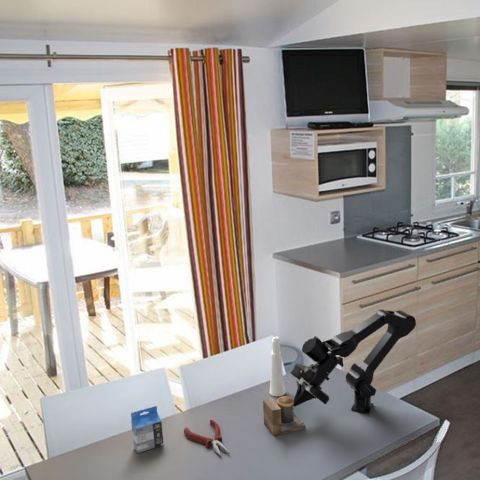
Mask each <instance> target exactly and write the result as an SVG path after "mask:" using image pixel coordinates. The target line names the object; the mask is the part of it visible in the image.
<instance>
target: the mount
mask: <svg viewBox="0 0 480 480" xmlns="http://www.w3.org/2000/svg"><path fill="white" fill-rule="evenodd" d="M262 401H263V402H262V407H263V408H262V409H263V425H264V426H265V427H266V429H267V431H269V433H270V434H271V435H272V436H273V437H275V436H279V435H283V434H287V433H292V432H295V431H301V430H303V429H306V425H305V424H304V423H305V422H304V421H302V420H301V419H300V418H299V416H297V415H296V414H295V411H294V410H293V414H294V420H295V421H296V422H297V423H295V424H291V425H287V426H281V408H280V407H279V406H278V404H277V403H276V401H275V400H274V399H273V398H272V397H269V398H265V399H264V398H263V399H262Z"/></svg>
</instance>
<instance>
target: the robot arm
mask: <svg viewBox="0 0 480 480" xmlns="http://www.w3.org/2000/svg"><path fill="white" fill-rule="evenodd" d="M386 325H387V329H386V331H385V333H384V334H383V335H382V337H380V339H379V340H378V341H377V343H376V344H375V346H374V347H372V349H371V350H370V352H369V353H368V355H367V356H366V357H365V359H363V361H362V362H360V363H359V364H357V363H355V362H354V363H353V364H352V365H351V366H350V368H349V369H347V370H346V375H345V382H346V384H347V385H348V386H349V387H350V389H352V390H353V391H354V393H353V400H354V401H353V404H352V406H351V411H354V412H360V413H364V414H370V413H371V411H372V409H373V407H374V406H375V405H374V403H372V397H373V396H375V395H376V392H377V389H376V388H375V387H374V386H373V385H371V384H372V382H373V380H374V374H375V372H376V370H377V369H378V368H379V366H380V364H381V363H382V362H383V361H384V360H385V358H386V357H387V355H388V354H389V352H391V350H392V349H393V348H394V346H395V345H396V344H397V342H398V341H399V340H400V339H402V338H404V337H407V336H408V335H409V334H410V333H412V332H413V330H414V329H415V328H416V326H417V321H416V319H415V316H413V315H411V314H410V313H407V312H405V311H403V310H395V311H394V310H385V309H378V310H377V311H376V313H374V314H373V315H371V316H370V317H368V318H367V319H366V320H364V321H362V322H361V323H359V324H358V325H357V326H355V327H354V328H352V329H351V330H349V331H344V332H341V333H340V332H339V334H336V335H334V336H333V337H331V338H329V339H327V340H323V341H322V340H321V339H320V338H319V337H317V336H316V335H315V336H314V337H312V338H309V339H308V340H306V341H305V342H304V343H303V345H302V348H301V350H302V351H301V352H302V353H303V354H304V355H306V356H307V357H308V358H309V359H311V360H312V361H313V362H314V363H315V364H313V363H311V364H310V365H309V366H307V365H304V364H300V363H297V362H296V363H294V367H293V369H292V370H291V371H290V374H291V375H292V376H293V377H295V378H297V380H296V384H297V389H296V392H295V395H294V398H293V399H294V404H293V407H297V406H299V405H301V404H304V403H306V402H308V401H311V400H314V399H315V400H316V399H318V400H319V401H320V402H322V404H324V405H325V406H326V405H327V403H328V402H329V401H330V396H329V395H328V394H327V393H326V392H324V391H323V388H322V387H321V386H322V385H323V383H325V381H329V380H330V379H331V378H329V376H330V375H331V374H332V372H333V371H334V369H335V368H336V367H337V366H338V365H339V366H340V367H341V368H343V367H344V358H348V357H349V356H350V355H352V353H354V351H356V350H357V347H358V346H359V344H360V343H361V342H362V341H364V340H365V339H367V338H368V337H370V336H371V335H372V334H374V333H375V332H376V331H378V330H379V329H381V328H382V327H384V326H386Z"/></svg>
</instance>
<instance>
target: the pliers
mask: <svg viewBox="0 0 480 480" xmlns="http://www.w3.org/2000/svg"><path fill="white" fill-rule="evenodd" d="M209 425H210V426H211V427H212V428H213V429H214V439H213V438H211V437H208V436H204V435H201V434H198V433H195V432H192V431H191V430H190V429H189V428H188V427H187V426H186V427H184V429H183V434H184V435H185V436H186V437H187V439H189V440H191V441H193V442H196V443H199V444H201V445H205V448H206V449H209V448H210V447H211V448H213V451H214V452H215V453H216V454H217V455H218V456H219V457H222V454H221V452H220V450H221V451H222V452H224V453H226V454H229V455H230V452H229V450H228V449H227V448H226V447H225V445H224V444H223V437H222V436H220V432H221V429H220V425H219V423H217V422H216V421H215V420H214V419H210V420H209Z"/></svg>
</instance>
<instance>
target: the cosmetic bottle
mask: <svg viewBox="0 0 480 480" xmlns="http://www.w3.org/2000/svg"><path fill="white" fill-rule="evenodd" d="M271 346H272V347H271V349H272V350H271V353H270V354H271V355H270V385H269V393H268V394H269V395H270V396H273V397H283V396H284V395H285V394H286V393H287V392H286V388H285V382H284V371H283V361H282V359H283V358H282V352H281V343H280V337H279V336H273V337H272V339H271Z"/></svg>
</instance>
